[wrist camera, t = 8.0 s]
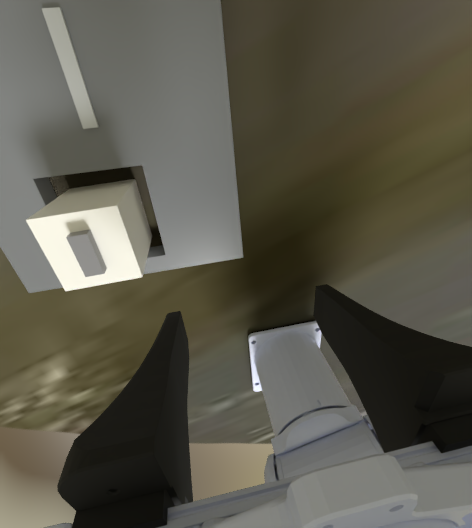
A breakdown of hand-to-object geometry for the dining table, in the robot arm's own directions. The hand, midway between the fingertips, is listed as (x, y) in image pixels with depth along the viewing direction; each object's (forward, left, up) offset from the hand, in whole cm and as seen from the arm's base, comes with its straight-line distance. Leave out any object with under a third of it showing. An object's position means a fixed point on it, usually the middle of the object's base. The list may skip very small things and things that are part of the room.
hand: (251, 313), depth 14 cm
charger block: (+3, +8, -10) cm, 13 cm away
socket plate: (+7, +7, -9) cm, 14 cm away
